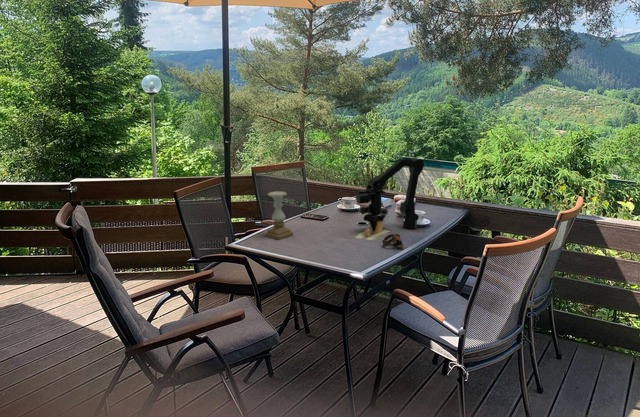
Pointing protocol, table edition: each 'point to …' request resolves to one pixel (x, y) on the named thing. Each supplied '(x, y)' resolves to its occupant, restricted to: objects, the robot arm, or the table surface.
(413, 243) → the table surface
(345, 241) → the table surface
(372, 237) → the birch board
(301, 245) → the table surface
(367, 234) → the copper post
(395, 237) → the brown striped lump
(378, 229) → the tan wooden cube
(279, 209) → the candle holder
